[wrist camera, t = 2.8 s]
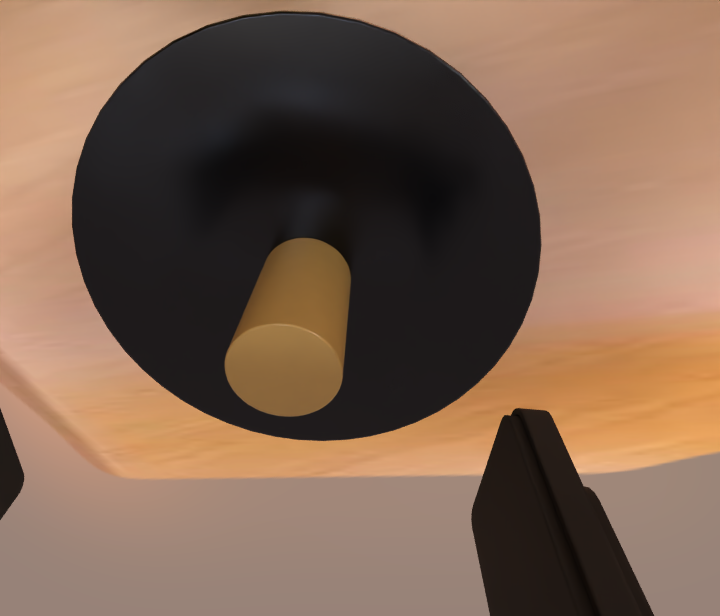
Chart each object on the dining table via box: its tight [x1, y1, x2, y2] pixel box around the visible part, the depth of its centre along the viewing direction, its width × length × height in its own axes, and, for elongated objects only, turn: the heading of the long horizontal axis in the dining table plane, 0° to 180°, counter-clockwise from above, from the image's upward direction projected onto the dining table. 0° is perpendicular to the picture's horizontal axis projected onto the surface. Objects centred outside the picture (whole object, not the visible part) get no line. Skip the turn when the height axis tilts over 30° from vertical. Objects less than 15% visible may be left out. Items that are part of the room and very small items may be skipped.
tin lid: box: [72, 11, 541, 441], centre depth 13 cm, size 14×14×6 cm
